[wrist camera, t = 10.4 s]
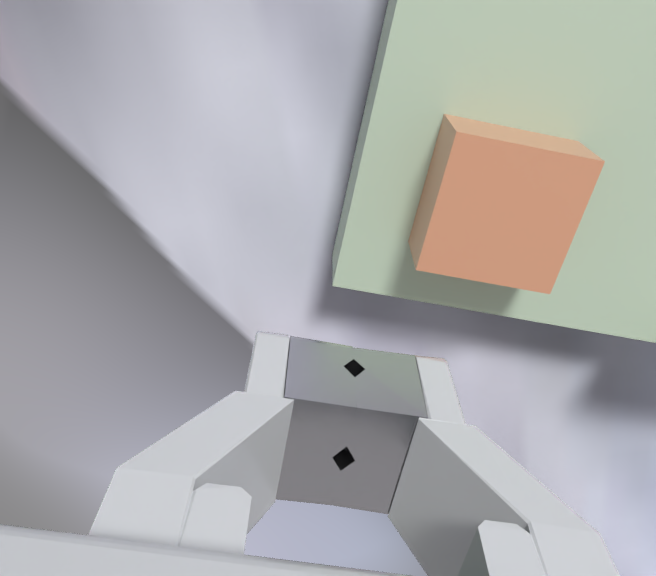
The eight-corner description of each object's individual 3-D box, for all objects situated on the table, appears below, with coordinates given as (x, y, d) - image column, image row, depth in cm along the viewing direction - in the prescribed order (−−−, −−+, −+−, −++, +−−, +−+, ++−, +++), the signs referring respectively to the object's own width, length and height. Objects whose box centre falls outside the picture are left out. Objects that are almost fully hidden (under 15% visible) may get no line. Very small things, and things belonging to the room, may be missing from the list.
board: (445, -257, 20) (463, -290, 17) (851, -152, 21) (926, -168, 18) (332, 254, 28) (332, 285, 25) (627, 307, 29) (656, 343, 27)
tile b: (444, 113, 22) (456, 131, 20) (578, 140, 23) (605, 161, 20) (408, 241, 24) (415, 270, 22) (530, 264, 25) (550, 294, 23)
